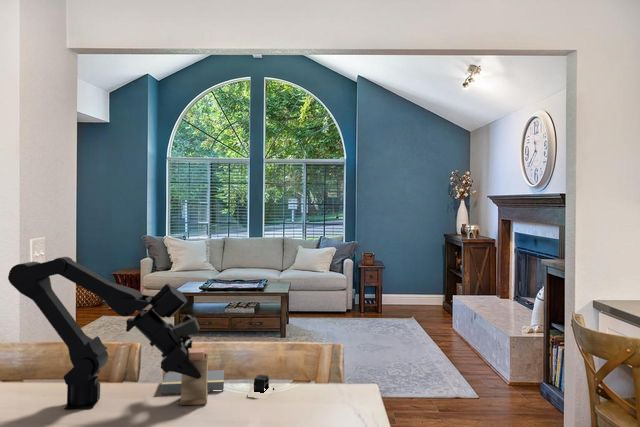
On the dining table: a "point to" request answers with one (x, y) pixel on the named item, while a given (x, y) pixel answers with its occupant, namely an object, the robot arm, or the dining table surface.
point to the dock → (174, 380)
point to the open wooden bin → (195, 384)
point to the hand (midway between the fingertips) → (200, 373)
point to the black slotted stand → (261, 383)
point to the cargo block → (196, 353)
